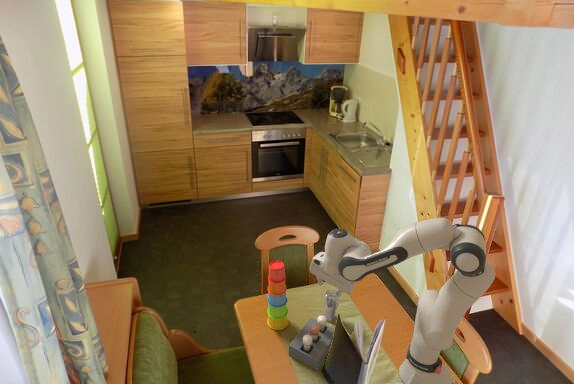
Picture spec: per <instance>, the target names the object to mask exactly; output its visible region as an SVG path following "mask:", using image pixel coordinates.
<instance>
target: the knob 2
mask: <svg viewBox="0 0 574 384" xmlns="http://www.w3.org/2000/svg"><path fill="white" fill-rule="evenodd" d="M323 315H324V314H323ZM323 315H318V316H317V319H316V320H317V323H318V326H319V327H320V331H323V330H324V326H325V325H327V322H328V321H327V318H326V317H325V316H323Z"/></svg>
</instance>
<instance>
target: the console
mask: <svg viewBox="0 0 574 384" xmlns="http://www.w3.org/2000/svg"><path fill="white" fill-rule="evenodd" d="M307 320H308V321H307V322H306V323H305V325H304V326H303V327H302V328H301V329H300V331H299V332H298V333H297V334H296V336H295V337H294V339H292V341H291V342H290V344H289V346H288V355H289V356H290V357H292V358H293V359H296V360H297V361H299V362H300V363H303V364H304V365H306V366H308V367H310V368H312V369H313V370H315V371H318V369H319V368H320V367H321V365H322V364H323V362H324V360H325V359H326V357H327V356H328V354H329V353H330V351H329V349H330V346H331V343H332V340H333V334H334V330H336V329H335V328H332V327H331V326H329V325H327V324H326V325H325V326H324V330H323V331H320V332H319V334H318V337H317V340H316V341H312V344H311V345H310V350H309V351H305V350H304V344H303V336H304V335H311V333H310V329H311V326H312V325H318V323H317V320H318V319H314V318H313V317H309V319H307ZM328 352H329V353H328Z"/></svg>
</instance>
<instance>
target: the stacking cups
mask: <svg viewBox="0 0 574 384" xmlns="http://www.w3.org/2000/svg"><path fill="white" fill-rule="evenodd" d="M285 268H286V267H285V264H284V262H283V261H281V260H273V261H271V262H270V263H269V265H268V276H267V279H268V285H267V292H268V296H267V297H268V298H267V300H266V301H267V303H268V304H267V305H268V308H267V310H266V312H267V313H266V314H267V315H268V317H267V321H266V323H267V326H268V328H270V329H271V330H273V331H281V330H284V329H286V328H287V327H288V326H289V323H290V321H289V318H288V313H289V309H288V307H287V303H288V297H287V285H286V279H287V275H286V272H285V271H286V269H285Z"/></svg>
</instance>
